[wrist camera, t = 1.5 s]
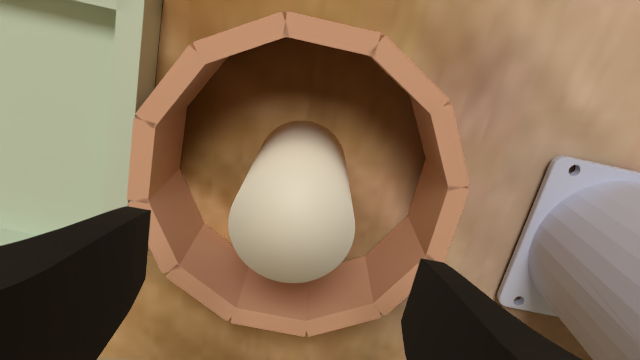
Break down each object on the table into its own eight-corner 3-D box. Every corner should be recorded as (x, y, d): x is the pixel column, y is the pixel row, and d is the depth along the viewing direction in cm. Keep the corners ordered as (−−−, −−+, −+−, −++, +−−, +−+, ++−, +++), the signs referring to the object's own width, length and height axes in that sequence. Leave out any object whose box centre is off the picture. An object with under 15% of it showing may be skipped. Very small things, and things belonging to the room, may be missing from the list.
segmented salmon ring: (476, 55, 19) (513, 63, 15) (397, 302, 23) (411, 356, 19) (181, -13, 18) (145, -22, 15) (152, 255, 22) (118, 302, 19)
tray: (164, -9, 18) (145, -13, 17) (137, 264, 23) (120, 286, 21) (-142, -79, 18) (-198, -92, 16) (-110, 217, 22) (-151, 235, 20)
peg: (354, 131, 20) (368, 182, 14) (334, 210, 22) (339, 293, 15) (267, 112, 20) (239, 155, 13) (252, 193, 21) (220, 270, 15)
